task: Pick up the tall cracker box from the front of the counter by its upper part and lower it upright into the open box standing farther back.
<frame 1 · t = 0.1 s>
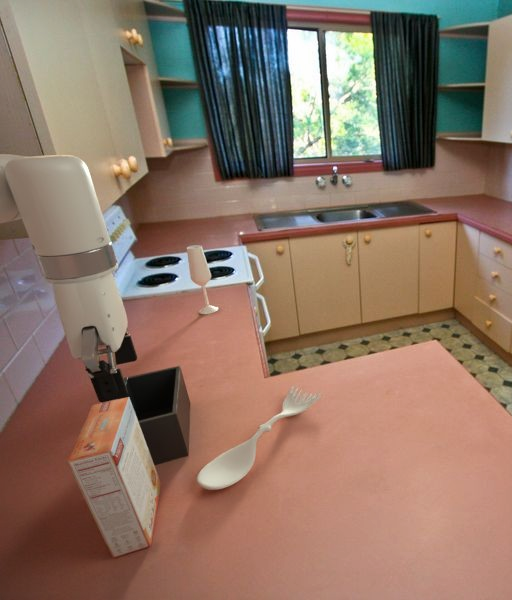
hand: (120, 379, 59), 31 cm above the countertop, tool pointing down, fingers open, 9 cm apart
cracker box: (138, 520, 75), on the countertop
open box: (161, 434, 95), on the countertop
champagne flute: (208, 310, 156), on the countertop
spoon: (265, 440, 92), on the countertop
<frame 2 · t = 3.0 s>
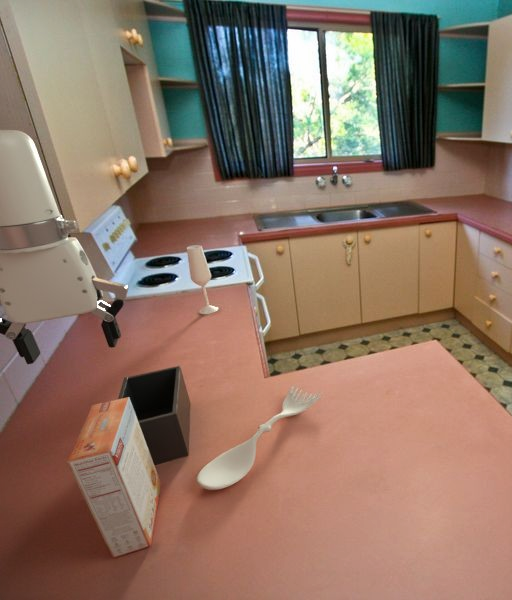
hand: (75, 351, 61), 34 cm above the countertop, tool pointing down, fingers open, 9 cm apart
nothing on the countertop moved.
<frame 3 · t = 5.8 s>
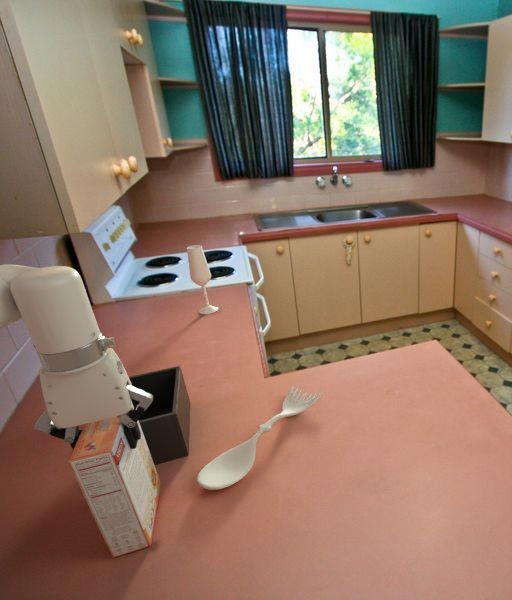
hand: (111, 448, 68), 16 cm above the countertop, tool pointing down, fingers closed on cracker box, 6 cm apart
cracker box: (138, 520, 75), on the countertop, touching gripper
everything else where it was.
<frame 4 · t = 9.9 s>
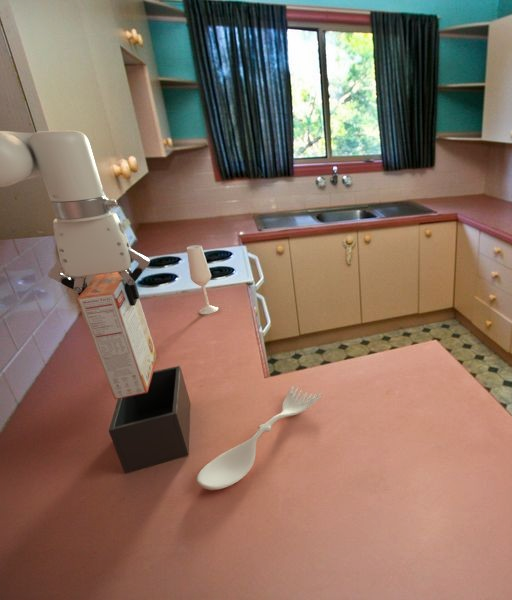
hand: (113, 305, 79), 33 cm above the countertop, tool pointing down, fingers closed on cracker box, 6 cm apart
cracker box: (137, 378, 85), point 17 cm above the countertop, touching gripper
everything else where it was.
when the fingers open (17 cm above the countertop, at t = 14.2 s): cracker box stays where it is, resting on open box.
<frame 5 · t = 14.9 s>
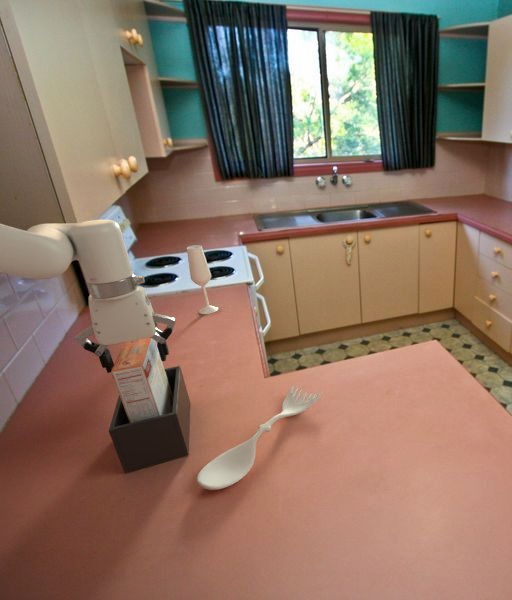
hand: (138, 363, 87), 18 cm above the countertop, tool pointing down, fingers open, 9 cm apart
cracker box: (160, 432, 94), point 1 cm above the countertop, touching open box
everything else where it was.
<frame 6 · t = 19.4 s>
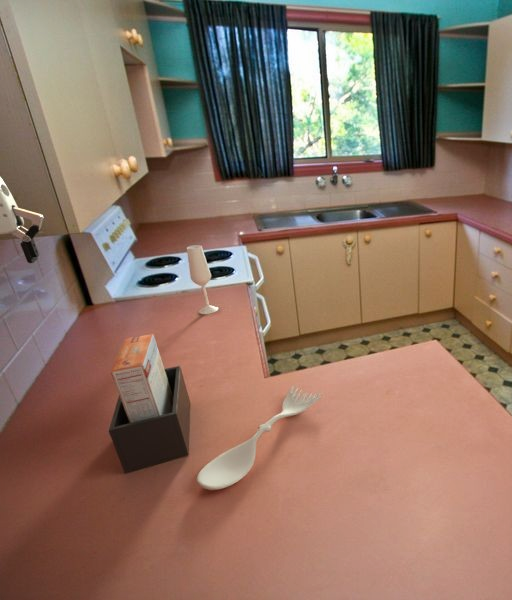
hand: (1, 265, 79), 40 cm above the countertop, tool pointing down, fingers open, 9 cm apart
nothing on the countertop moved.
at the end: cracker box inside the target area in the open box (0.0 cm from its centre), point 0.6 cm above the open box's base; cracker box tilted 0°; the gripper is holding nothing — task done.
